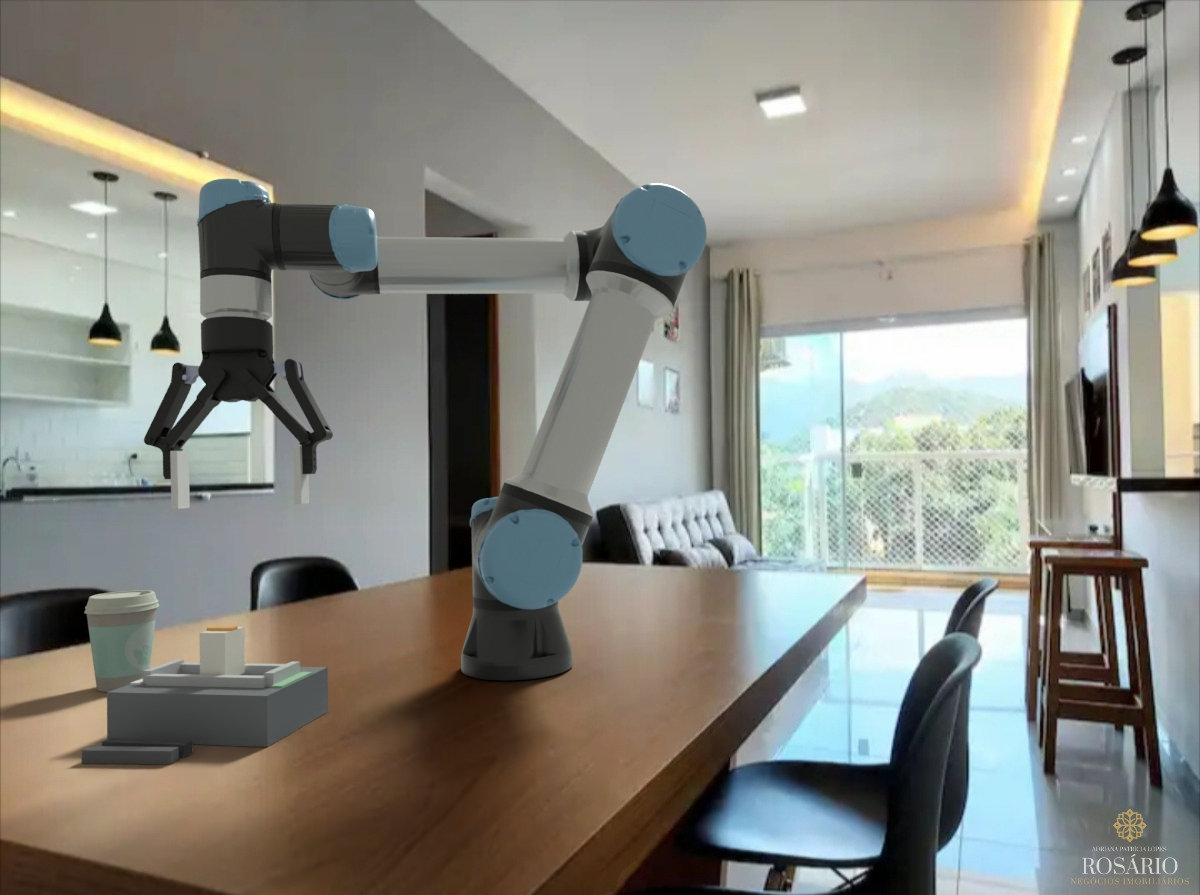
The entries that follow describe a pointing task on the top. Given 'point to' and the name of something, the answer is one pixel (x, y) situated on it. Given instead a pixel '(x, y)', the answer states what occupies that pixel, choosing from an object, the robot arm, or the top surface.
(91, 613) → the coffee cup
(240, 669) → the white upright block
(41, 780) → the top surface
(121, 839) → the top surface
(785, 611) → the top surface
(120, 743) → the dark grey long bar
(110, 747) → the dark gray bar
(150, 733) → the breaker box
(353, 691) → the top surface
